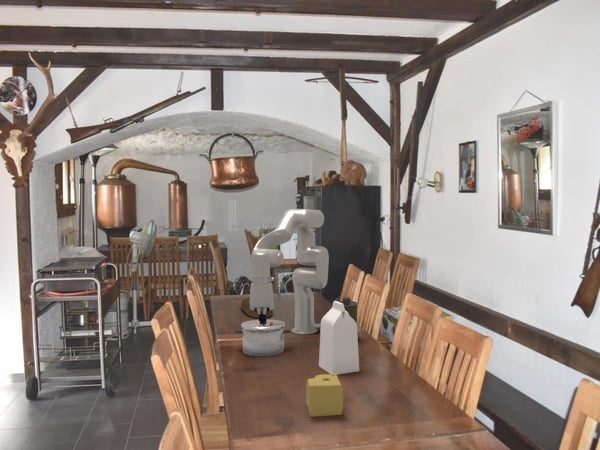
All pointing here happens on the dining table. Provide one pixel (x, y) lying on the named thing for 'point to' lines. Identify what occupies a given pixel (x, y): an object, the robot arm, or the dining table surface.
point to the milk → (338, 341)
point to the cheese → (324, 395)
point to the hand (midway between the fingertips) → (262, 322)
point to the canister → (350, 307)
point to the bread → (245, 307)
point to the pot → (263, 341)
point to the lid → (263, 325)
